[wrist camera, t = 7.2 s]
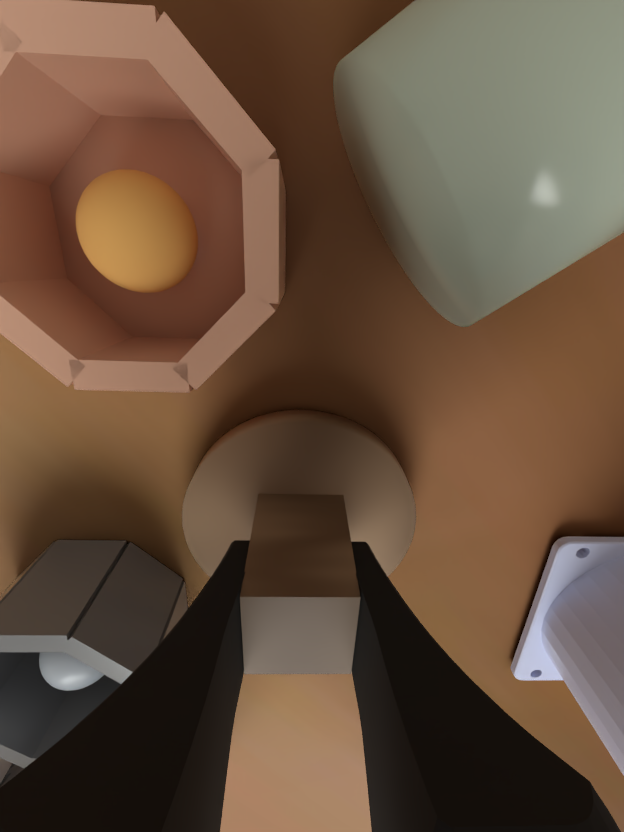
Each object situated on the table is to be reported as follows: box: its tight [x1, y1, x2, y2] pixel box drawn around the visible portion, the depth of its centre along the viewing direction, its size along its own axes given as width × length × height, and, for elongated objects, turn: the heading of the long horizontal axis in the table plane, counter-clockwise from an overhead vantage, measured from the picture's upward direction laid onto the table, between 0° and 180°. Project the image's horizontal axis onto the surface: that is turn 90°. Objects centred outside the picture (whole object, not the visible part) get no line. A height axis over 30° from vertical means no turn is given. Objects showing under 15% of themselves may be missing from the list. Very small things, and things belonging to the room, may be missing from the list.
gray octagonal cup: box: [0, 540, 188, 768], centre depth 14 cm, size 7×7×4 cm
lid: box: [182, 410, 416, 674], centre depth 12 cm, size 8×8×5 cm
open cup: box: [0, 0, 286, 393], centre depth 9 cm, size 7×7×4 cm
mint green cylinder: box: [333, 0, 624, 327], centre depth 8 cm, size 5×6×6 cm
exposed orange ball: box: [76, 169, 198, 293], centre depth 9 cm, size 3×3×3 cm
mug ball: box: [39, 652, 104, 691], centre depth 14 cm, size 3×3×3 cm
